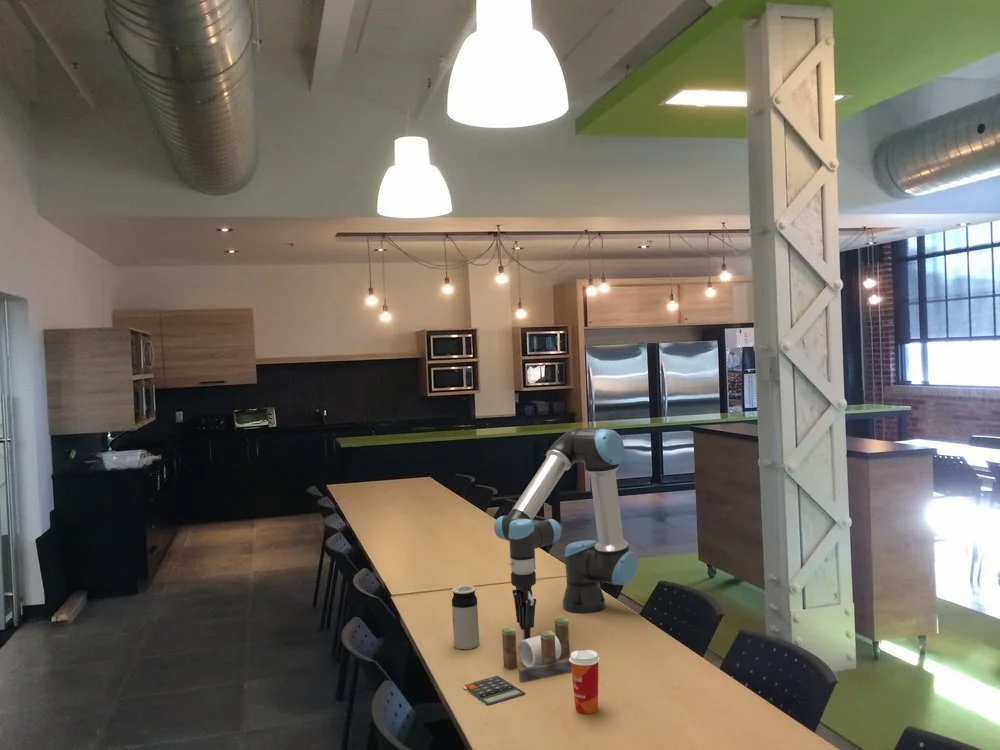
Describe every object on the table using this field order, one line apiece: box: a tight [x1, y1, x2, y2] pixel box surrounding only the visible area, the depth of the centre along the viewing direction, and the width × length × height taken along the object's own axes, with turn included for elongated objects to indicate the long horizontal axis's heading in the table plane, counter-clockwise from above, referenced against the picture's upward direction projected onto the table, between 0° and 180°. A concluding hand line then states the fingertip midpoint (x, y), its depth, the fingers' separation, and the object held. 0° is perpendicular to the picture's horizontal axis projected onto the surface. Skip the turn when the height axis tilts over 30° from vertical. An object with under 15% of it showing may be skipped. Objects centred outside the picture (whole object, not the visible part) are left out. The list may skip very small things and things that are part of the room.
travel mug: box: [451, 585, 480, 650], centre depth 251 cm, size 8×8×18 cm
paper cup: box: [568, 649, 600, 715], centre depth 201 cm, size 8×8×14 cm
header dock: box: [501, 617, 572, 683], centre depth 230 cm, size 20×13×11 cm, turn 112°
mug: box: [518, 634, 561, 668], centre depth 235 cm, size 12×10×8 cm
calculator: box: [464, 675, 526, 707], centre depth 216 cm, size 12×1×15 cm
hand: (526, 648), depth 241 cm, fingers closed
